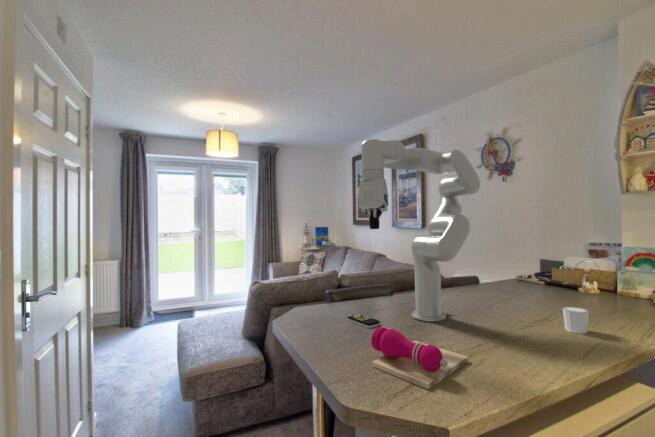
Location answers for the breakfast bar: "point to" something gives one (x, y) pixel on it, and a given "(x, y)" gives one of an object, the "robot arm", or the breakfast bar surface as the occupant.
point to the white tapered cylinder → (576, 319)
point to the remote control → (363, 320)
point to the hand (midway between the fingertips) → (374, 228)
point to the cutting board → (420, 368)
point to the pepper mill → (407, 349)
